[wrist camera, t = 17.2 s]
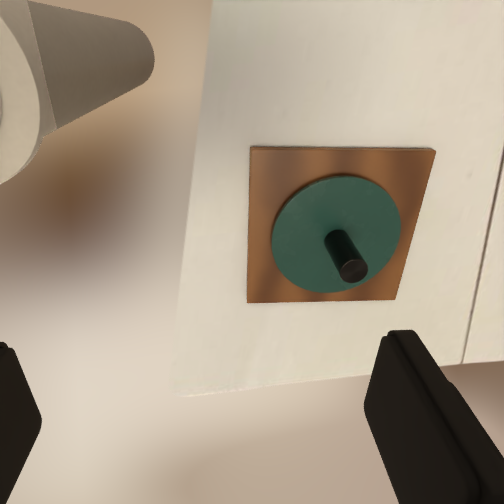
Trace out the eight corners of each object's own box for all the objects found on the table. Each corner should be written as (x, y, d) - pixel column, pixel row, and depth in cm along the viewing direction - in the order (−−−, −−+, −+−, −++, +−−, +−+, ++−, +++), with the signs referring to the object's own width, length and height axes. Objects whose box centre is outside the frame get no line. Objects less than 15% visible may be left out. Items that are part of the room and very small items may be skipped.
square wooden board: (246, 298, 44) (247, 303, 43) (250, 146, 35) (250, 149, 34) (392, 295, 45) (395, 300, 44) (431, 148, 36) (436, 150, 35)
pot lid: (267, 288, 42) (274, 331, 36) (273, 172, 35) (284, 201, 29) (382, 285, 43) (409, 327, 37) (409, 173, 36) (448, 200, 30)
